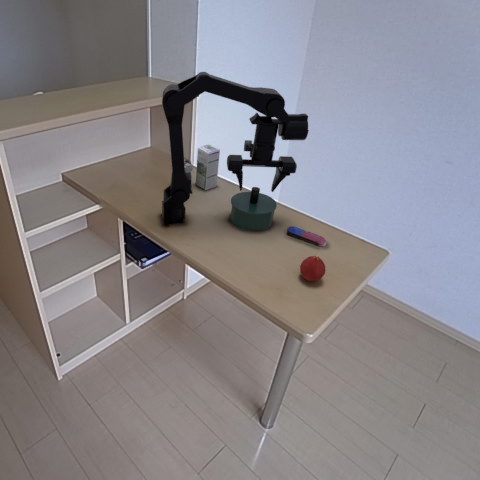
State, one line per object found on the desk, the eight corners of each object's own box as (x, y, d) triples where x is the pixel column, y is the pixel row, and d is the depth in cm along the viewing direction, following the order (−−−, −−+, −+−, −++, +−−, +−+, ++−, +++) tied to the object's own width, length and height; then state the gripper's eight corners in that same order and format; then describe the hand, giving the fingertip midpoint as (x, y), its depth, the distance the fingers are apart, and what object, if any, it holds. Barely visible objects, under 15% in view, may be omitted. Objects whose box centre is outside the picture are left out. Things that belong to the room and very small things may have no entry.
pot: (238, 234, 110) (241, 216, 106) (224, 212, 120) (227, 195, 116) (278, 230, 111) (282, 212, 108) (261, 209, 122) (264, 192, 118)
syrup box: (217, 186, 135) (221, 148, 127) (204, 191, 132) (207, 152, 124) (207, 181, 139) (210, 143, 130) (194, 184, 136) (197, 147, 128)
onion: (293, 273, 95) (300, 248, 90) (315, 272, 95) (323, 247, 91) (302, 288, 90) (310, 263, 86) (325, 287, 91) (334, 262, 86)
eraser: (327, 243, 106) (329, 238, 105) (322, 250, 103) (324, 244, 102) (289, 229, 111) (291, 224, 110) (284, 235, 109) (285, 230, 108)
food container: (188, 197, 128) (190, 171, 122) (171, 196, 129) (172, 169, 123) (193, 182, 138) (194, 157, 132) (177, 180, 139) (177, 155, 133)
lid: (239, 218, 106) (242, 201, 103) (224, 196, 117) (226, 180, 113) (283, 214, 108) (287, 197, 105) (264, 193, 119) (267, 177, 116)
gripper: (293, 130, 106) (283, 179, 115) (228, 128, 108) (223, 177, 117) (302, 144, 97) (290, 196, 106) (231, 142, 99) (225, 194, 108)
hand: (256, 190), depth 109 cm, fingers open, 9 cm apart
